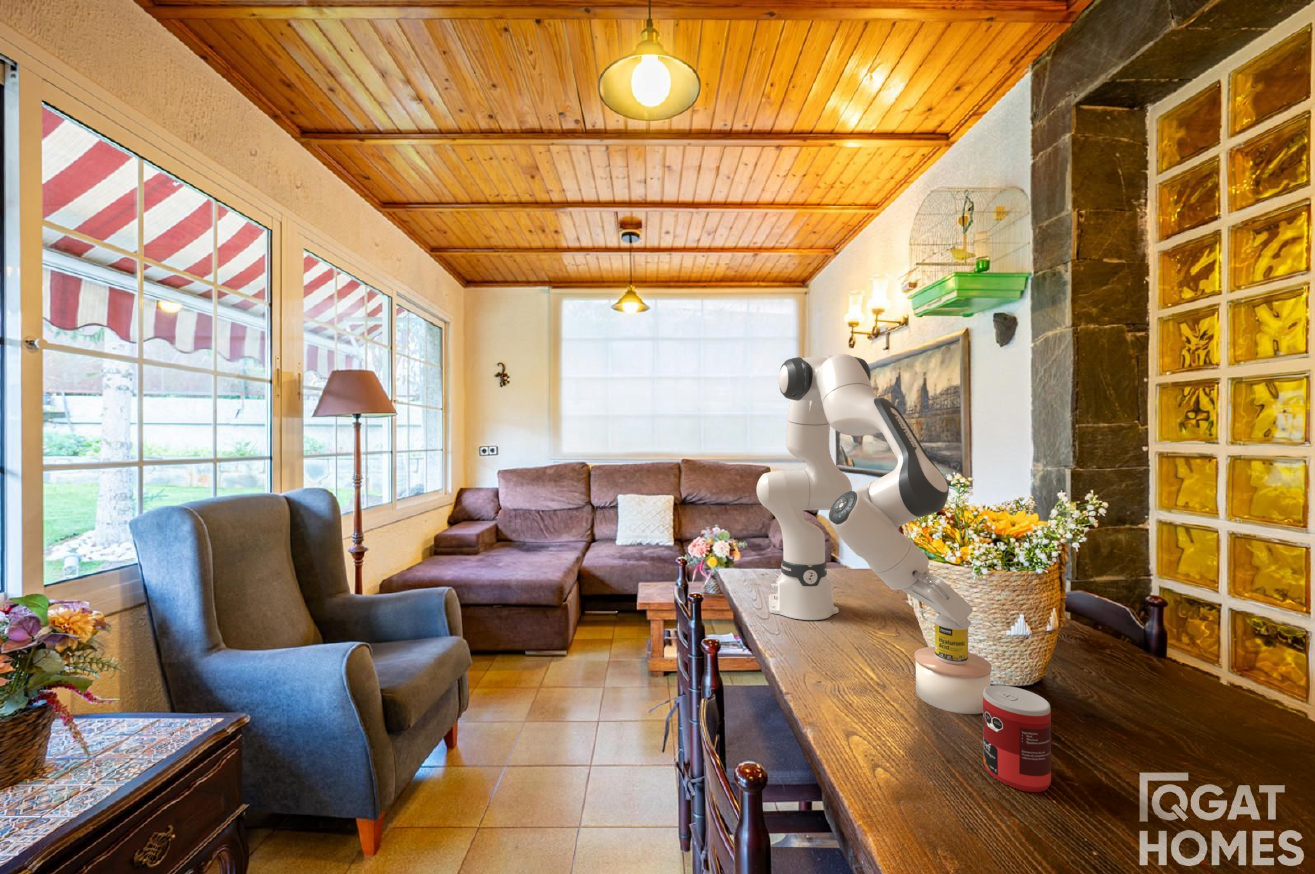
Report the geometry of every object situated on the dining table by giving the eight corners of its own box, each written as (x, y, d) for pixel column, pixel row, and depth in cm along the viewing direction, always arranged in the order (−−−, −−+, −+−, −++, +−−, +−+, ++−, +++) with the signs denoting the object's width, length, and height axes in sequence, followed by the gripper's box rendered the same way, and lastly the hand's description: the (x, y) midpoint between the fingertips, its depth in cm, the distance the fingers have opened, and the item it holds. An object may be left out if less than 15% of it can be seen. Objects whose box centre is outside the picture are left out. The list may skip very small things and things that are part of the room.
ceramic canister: (902, 682, 105) (902, 646, 105) (965, 682, 105) (965, 646, 105) (936, 715, 92) (936, 674, 93) (1008, 714, 93) (1007, 673, 93)
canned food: (987, 752, 81) (987, 679, 81) (1053, 773, 76) (1052, 695, 76) (978, 777, 75) (978, 698, 75) (1049, 801, 70) (1048, 717, 70)
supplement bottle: (934, 662, 98) (934, 608, 98) (934, 651, 103) (934, 600, 103) (969, 667, 95) (968, 612, 95) (967, 656, 100) (967, 604, 100)
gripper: (945, 567, 88) (1004, 626, 89) (889, 543, 109) (937, 591, 109) (918, 594, 88) (977, 653, 88) (867, 565, 109) (915, 613, 109)
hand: (954, 618), depth 99 cm, fingers open, 6 cm apart
